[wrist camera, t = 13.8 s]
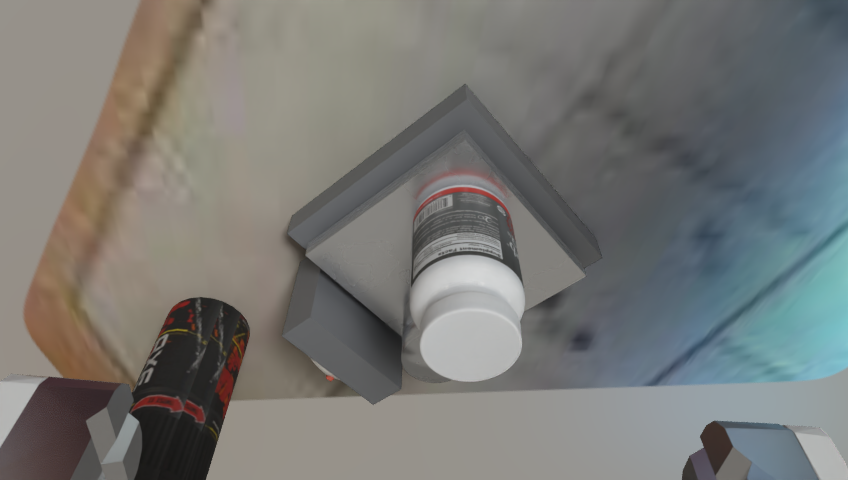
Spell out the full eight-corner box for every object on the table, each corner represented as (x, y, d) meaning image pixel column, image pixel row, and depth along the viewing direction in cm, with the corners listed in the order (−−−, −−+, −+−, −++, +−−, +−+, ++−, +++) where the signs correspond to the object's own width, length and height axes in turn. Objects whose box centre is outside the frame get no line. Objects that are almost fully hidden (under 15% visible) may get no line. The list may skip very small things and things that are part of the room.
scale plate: (464, 129, 36) (465, 140, 35) (582, 263, 41) (586, 276, 40) (308, 243, 40) (305, 255, 39) (433, 350, 46) (433, 363, 45)
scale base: (465, 84, 37) (471, 143, 32) (595, 239, 44) (620, 311, 38) (259, 240, 44) (234, 313, 38) (398, 355, 50) (395, 432, 45)
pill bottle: (504, 264, 40) (523, 394, 32) (409, 259, 40) (404, 388, 32) (518, 182, 36) (543, 304, 28) (414, 177, 36) (410, 298, 28)
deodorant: (182, 285, 46) (95, 474, 34) (262, 317, 48) (206, 508, 36) (156, 337, 49) (68, 528, 37) (232, 366, 51) (171, 557, 39)
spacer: (439, 279, 40) (440, 324, 37) (479, 316, 42) (483, 363, 39) (390, 309, 42) (387, 356, 39) (430, 344, 44) (430, 391, 41)
